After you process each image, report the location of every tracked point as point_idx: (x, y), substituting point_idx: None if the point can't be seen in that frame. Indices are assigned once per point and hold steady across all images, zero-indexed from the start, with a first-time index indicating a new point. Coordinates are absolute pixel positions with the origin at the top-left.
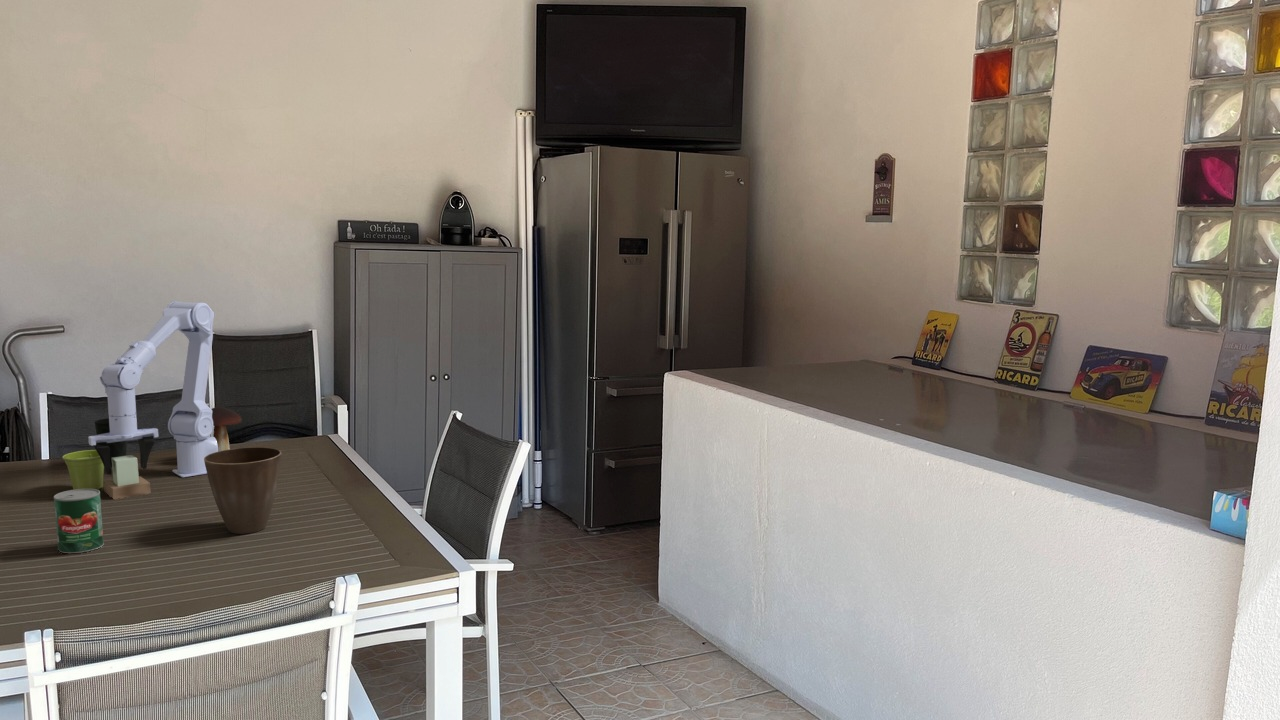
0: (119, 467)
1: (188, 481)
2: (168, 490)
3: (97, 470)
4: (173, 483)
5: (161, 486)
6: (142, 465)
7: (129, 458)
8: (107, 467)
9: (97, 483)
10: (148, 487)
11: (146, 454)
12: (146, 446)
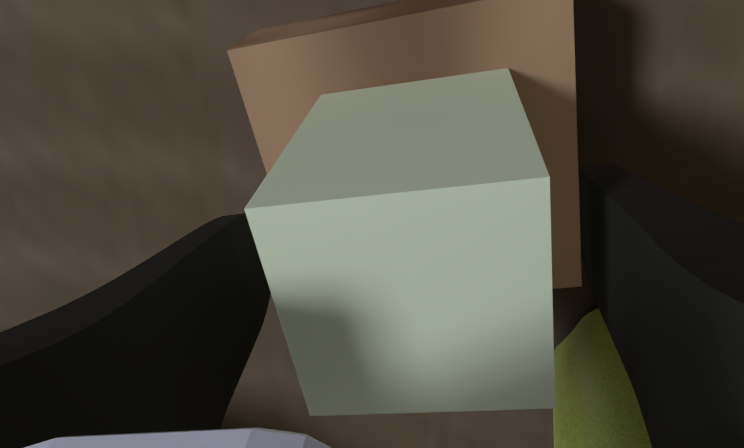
0: (496, 139)
1: (45, 237)
2: (135, 58)
3: (633, 407)
4: (131, 236)
5: (198, 200)
6: (243, 254)
7: (348, 261)
8: (647, 182)
9: (606, 334)
10: (255, 39)
11: (122, 286)
12: (22, 348)
